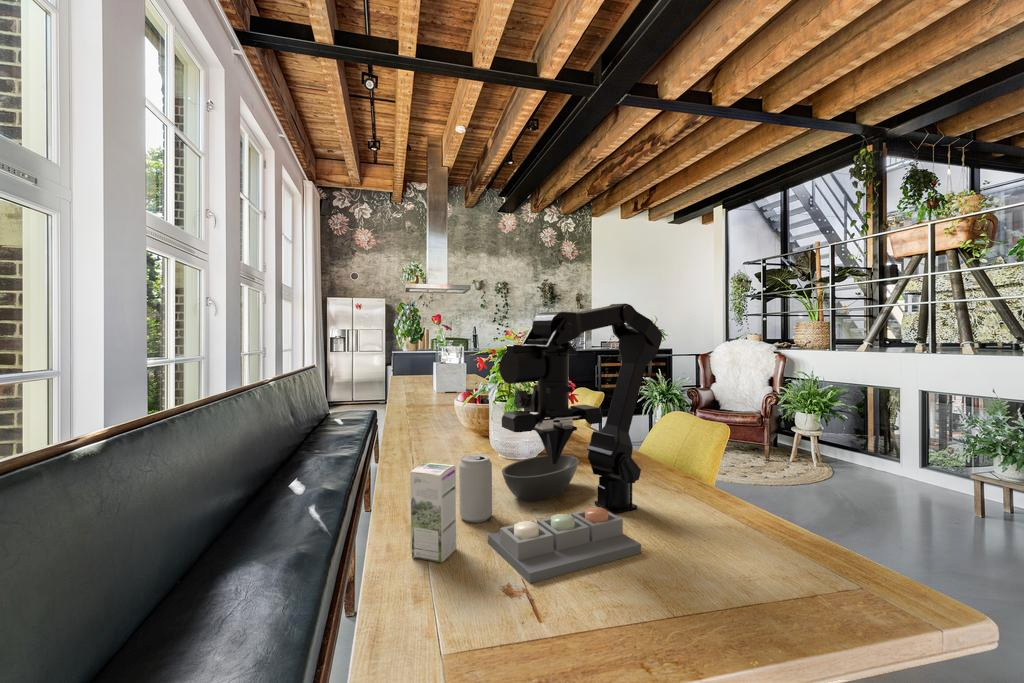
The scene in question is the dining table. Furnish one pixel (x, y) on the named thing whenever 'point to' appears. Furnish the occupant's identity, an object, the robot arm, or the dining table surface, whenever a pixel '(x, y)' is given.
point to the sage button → (562, 522)
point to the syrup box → (433, 511)
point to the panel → (564, 547)
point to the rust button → (596, 514)
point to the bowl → (539, 477)
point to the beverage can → (475, 487)
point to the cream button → (526, 530)
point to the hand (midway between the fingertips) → (553, 463)
